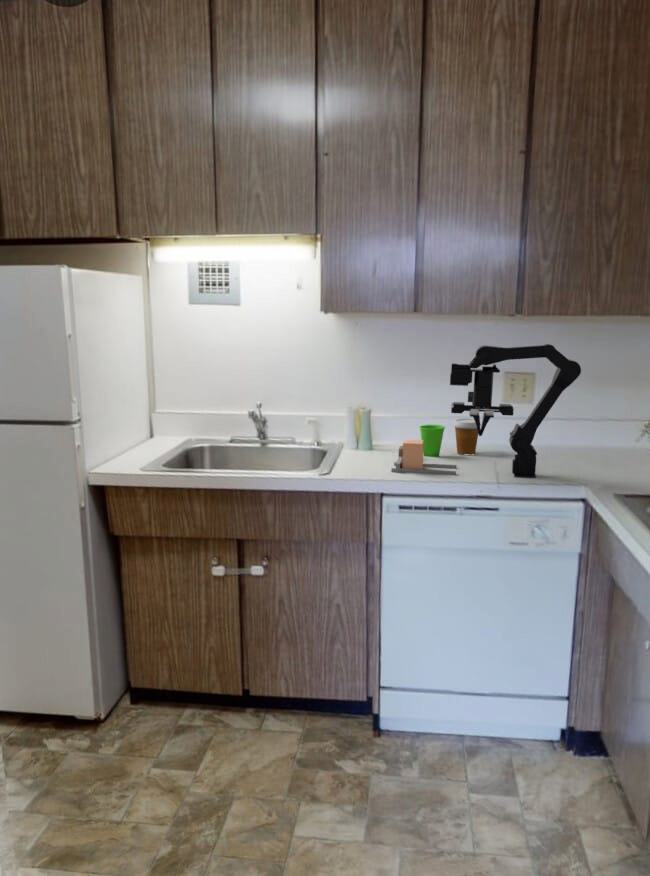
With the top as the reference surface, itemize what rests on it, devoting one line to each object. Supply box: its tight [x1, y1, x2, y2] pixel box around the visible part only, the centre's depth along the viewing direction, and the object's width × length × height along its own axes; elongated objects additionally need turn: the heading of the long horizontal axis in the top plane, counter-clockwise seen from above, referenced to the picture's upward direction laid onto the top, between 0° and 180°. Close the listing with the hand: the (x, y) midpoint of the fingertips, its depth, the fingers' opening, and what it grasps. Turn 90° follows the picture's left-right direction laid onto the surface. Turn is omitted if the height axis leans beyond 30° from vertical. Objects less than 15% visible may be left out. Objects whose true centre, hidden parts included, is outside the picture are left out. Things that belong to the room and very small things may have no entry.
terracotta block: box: [401, 439, 424, 470], centre depth 213 cm, size 6×6×9 cm
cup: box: [418, 424, 446, 458], centre depth 234 cm, size 9×9×11 cm
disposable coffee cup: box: [453, 418, 482, 455], centre depth 240 cm, size 10×10×12 cm
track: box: [390, 456, 458, 476], centre depth 213 cm, size 20×10×4 cm, turn 78°
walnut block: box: [398, 445, 403, 458], centre depth 229 cm, size 5×5×5 cm
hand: (480, 435), depth 210 cm, fingers closed
